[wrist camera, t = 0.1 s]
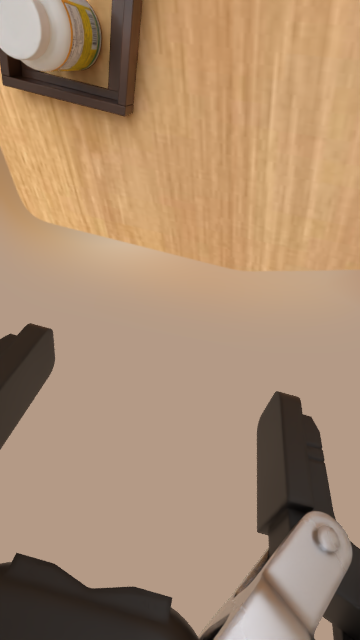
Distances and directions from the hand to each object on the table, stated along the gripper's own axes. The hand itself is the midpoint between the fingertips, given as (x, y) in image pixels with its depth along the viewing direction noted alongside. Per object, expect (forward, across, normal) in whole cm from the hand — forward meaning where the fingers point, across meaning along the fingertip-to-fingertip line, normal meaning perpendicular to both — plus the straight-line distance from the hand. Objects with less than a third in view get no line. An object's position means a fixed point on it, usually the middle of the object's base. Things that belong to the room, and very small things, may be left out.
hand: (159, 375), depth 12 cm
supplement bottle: (+29, +16, -8) cm, 34 cm away
